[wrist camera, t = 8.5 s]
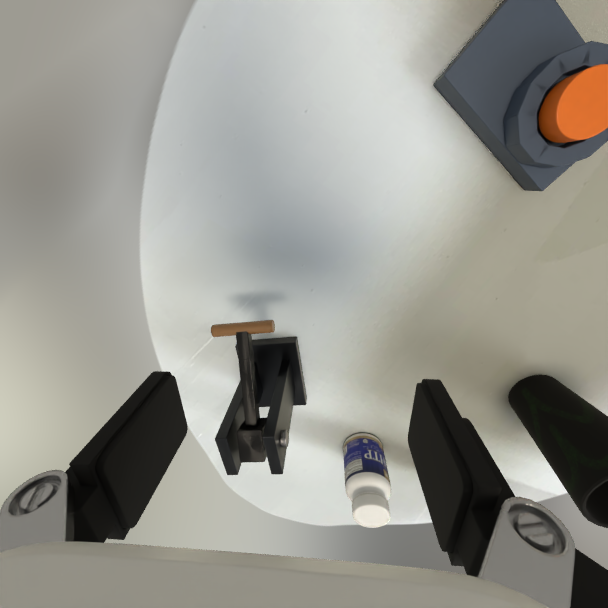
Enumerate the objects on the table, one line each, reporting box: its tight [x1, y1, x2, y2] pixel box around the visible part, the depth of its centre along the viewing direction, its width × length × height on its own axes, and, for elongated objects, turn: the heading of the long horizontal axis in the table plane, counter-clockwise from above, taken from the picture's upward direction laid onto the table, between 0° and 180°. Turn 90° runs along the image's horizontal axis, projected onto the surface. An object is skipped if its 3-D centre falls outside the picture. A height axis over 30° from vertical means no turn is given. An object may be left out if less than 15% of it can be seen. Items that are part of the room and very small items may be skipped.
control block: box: [434, 0, 608, 191], centre depth 20 cm, size 12×7×4 cm, turn 50°
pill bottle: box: [343, 433, 391, 528], centre depth 34 cm, size 5×5×9 cm
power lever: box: [211, 320, 275, 462], centre depth 25 cm, size 12×6×2 cm, turn 8°
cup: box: [508, 375, 608, 528], centre depth 27 cm, size 8×8×12 cm
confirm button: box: [539, 64, 608, 143], centre depth 19 cm, size 4×4×2 cm
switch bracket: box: [215, 337, 307, 475], centre depth 29 cm, size 9×7×12 cm
